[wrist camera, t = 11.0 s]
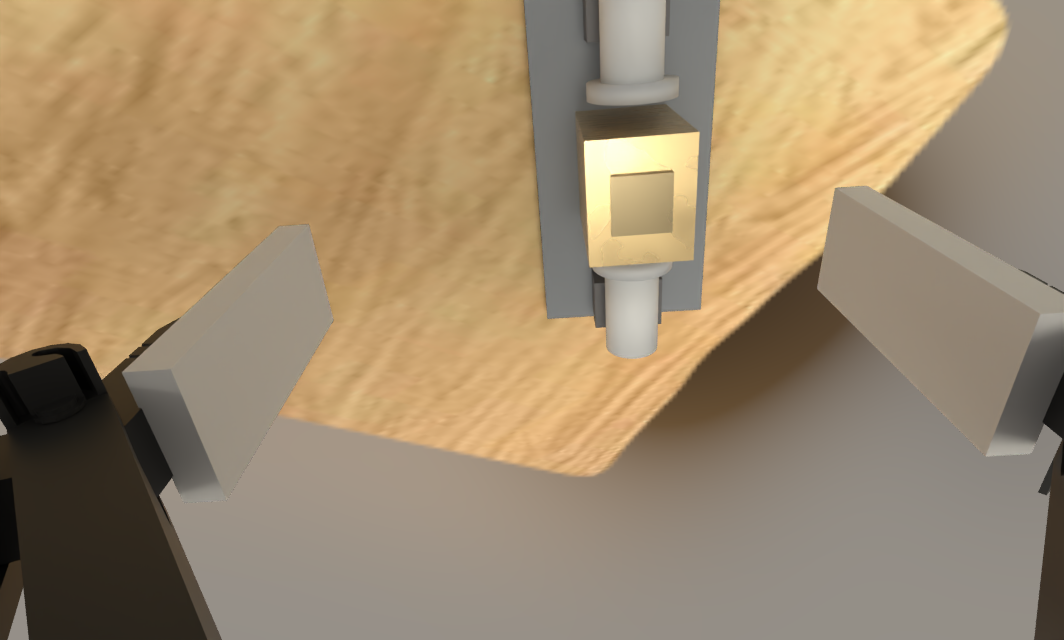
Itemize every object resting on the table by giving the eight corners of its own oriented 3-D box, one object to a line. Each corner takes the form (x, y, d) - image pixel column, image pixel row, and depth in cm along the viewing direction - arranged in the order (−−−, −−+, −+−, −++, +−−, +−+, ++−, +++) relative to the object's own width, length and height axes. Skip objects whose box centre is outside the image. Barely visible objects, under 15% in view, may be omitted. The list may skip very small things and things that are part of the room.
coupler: (580, 215, 36) (589, 270, 29) (575, 111, 33) (584, 142, 26) (663, 209, 36) (695, 262, 28) (665, 103, 33) (701, 133, 25)
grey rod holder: (547, 308, 41) (548, 370, 34) (522, -31, 31) (516, -40, 24) (695, 299, 40) (726, 359, 33) (715, -48, 31) (764, -62, 24)
